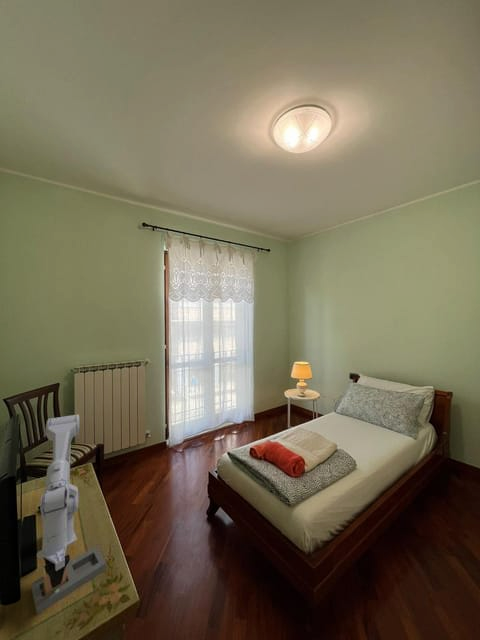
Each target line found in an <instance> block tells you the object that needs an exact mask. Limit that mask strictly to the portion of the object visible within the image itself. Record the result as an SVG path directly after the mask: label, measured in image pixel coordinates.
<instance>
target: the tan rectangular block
mask: <svg viewBox="0 0 480 640" xmlns="http://www.w3.org/2000/svg"><path fill="white" fill-rule="evenodd" d="M43 577H44V582H43V592H44V595H47V594H49V593H50V592H52V591H53V590H55V589H57V588H58V587H60V586H61V585H63V584H65V583H66V568H65V571H64V574H63V578H62V582H61V584H59V585H58V586H56V587H54V588H52V586H51V582H50V577H49V575H48V574H47V573H46V571H45V565H43Z"/></svg>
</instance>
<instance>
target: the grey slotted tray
mask: <svg viewBox="0 0 480 640" xmlns="http://www.w3.org/2000/svg"><path fill="white" fill-rule="evenodd" d="M106 570H107V563H106V561H105V559H104V557H103V556H102V554H101V552H100V550H99V548H98V546H96V545H95V546H93V548H90V549H89V550H87V551H85V552H84V553H82V554H81V555H80V554H79V556H77V557H75V558H73V559H72V560H71V559H70V560H69V562H68V564H67V566H66V583H65V584H63V585H61V586H60V587H58V588H57V589H55V590H53V591H52V592H50V593H49V594H47V595H44V592H43V582H44V576H42V577H40V578H38V579H37V580H34V581H33V582H31V592H32V598H33V602H34V607H35V611H36V616H38V615H39V614H41V613H42V612H44V611H46V610H47V609H48V608H50V607H52V606H53V605H55V604H56V603H57V602H59V601H60V600H63V599H64V598H65V597H67V596H69V594H72V593H73V592H74V591H76V590H77V589H79V588H80V587H82V586H84V585H85V584H86V583H88V582H90V581H91V580H93V579H94V578H96V577H98V576H99V575H100V574H102V573H104V572H105V571H106Z"/></svg>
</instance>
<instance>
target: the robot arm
mask: <svg viewBox="0 0 480 640" xmlns="http://www.w3.org/2000/svg"><path fill="white" fill-rule="evenodd" d="M79 432H80V415H79V414H78V413H77V414H73V415H72V414H71V415H65V416H60V417H58V416H57V417H53V418H51V417H50V418H48V419H47V420H46V424H45V437H47V439H48V441H52V462H51V464H50V465H48V467H47V470H46V478H45V485H44V492H42V494H41V498H40V509H39V510H40V514H41V522H42V544H41V545H42V547H41V548H40V549H39V551H37V553H36V558H37V559H42V558H43V560H44V563H45V565H44V566H45V571H46V573H47V574H48V575H49V577H50V582H51V586H52V588H54V587H56V586H58V585H59V584H61V582H62V578H63V574H64V571H65V568H66V566H67V564H68V562H70V561H71V557H70V553H69V554H66V551H67V548H68V547H67V546H68V545H70V544H72V543H73V542H76V541H77V540H78V538H77V535H76V533H75V530H74V526H75V525H74V523H75V519H74V518H75V513H77V511H78V510H79V488H78V487H77V485H73V484H72V483H71V482H70V479H71V477H70V476H71V447H72V446H71V444H72V440H73V438H74V437H76V436H78V435H79Z"/></svg>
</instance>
